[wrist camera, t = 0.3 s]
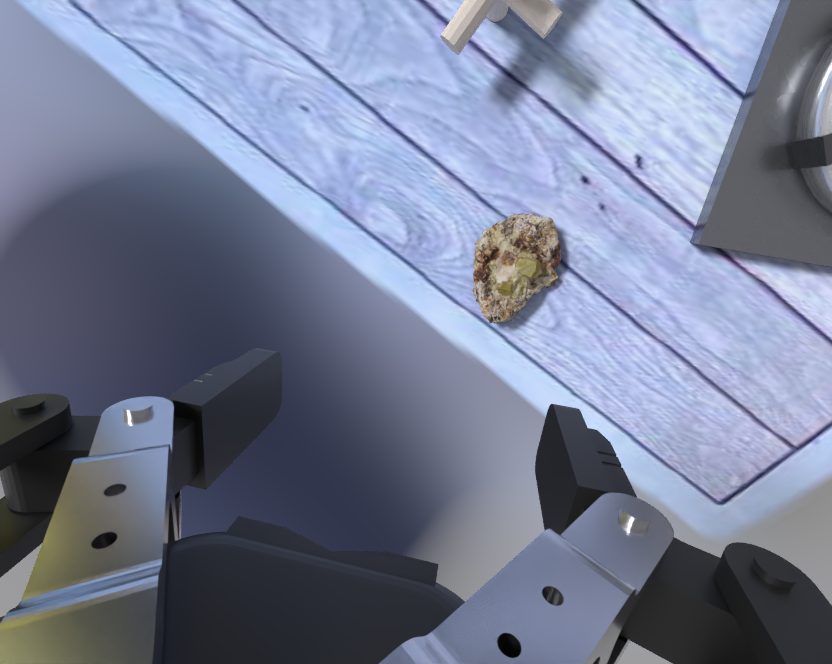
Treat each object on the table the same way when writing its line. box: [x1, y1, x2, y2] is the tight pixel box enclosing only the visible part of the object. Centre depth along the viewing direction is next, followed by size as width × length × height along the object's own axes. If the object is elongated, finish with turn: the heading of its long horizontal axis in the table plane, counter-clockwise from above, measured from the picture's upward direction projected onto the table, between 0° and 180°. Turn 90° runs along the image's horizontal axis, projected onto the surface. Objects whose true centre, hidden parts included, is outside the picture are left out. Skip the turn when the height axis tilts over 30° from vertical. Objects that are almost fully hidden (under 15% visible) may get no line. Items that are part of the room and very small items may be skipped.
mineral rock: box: [473, 213, 561, 323], centre depth 38 cm, size 11×4×8 cm
